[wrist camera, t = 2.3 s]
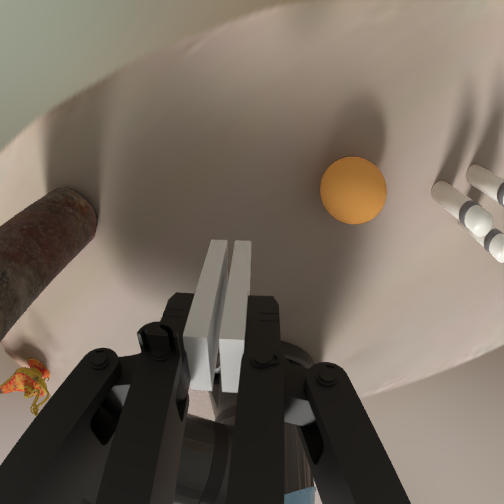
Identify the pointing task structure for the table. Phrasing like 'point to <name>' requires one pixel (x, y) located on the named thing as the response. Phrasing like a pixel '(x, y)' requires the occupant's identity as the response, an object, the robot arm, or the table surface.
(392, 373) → the table surface
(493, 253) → the pin
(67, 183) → the table surface
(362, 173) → the ball
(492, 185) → the pin
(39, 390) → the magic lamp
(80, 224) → the rusty brown cylinder
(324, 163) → the table surface
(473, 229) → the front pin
